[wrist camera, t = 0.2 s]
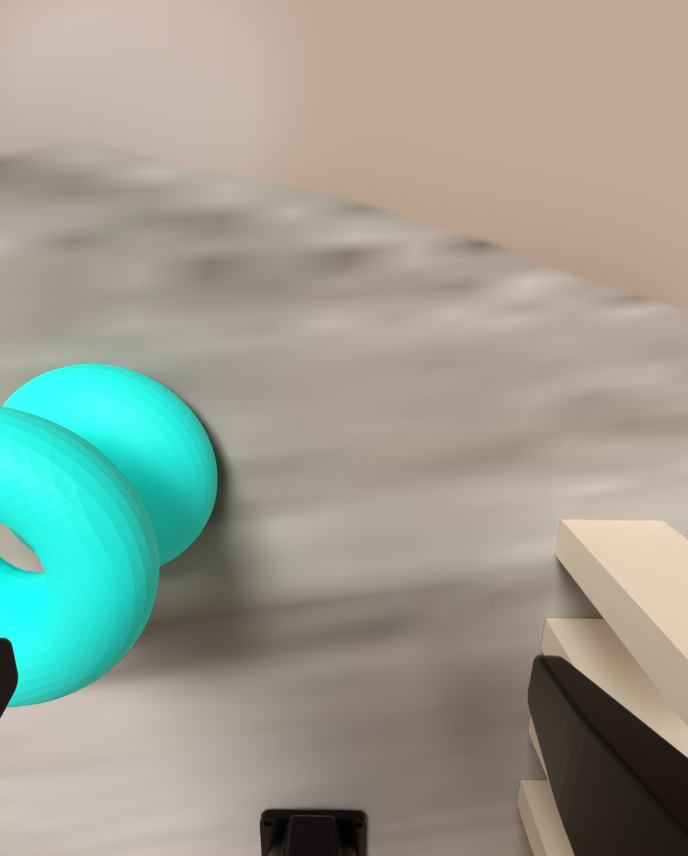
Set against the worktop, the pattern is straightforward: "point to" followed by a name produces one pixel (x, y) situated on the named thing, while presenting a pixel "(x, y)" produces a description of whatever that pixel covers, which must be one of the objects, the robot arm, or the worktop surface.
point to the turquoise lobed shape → (93, 517)
